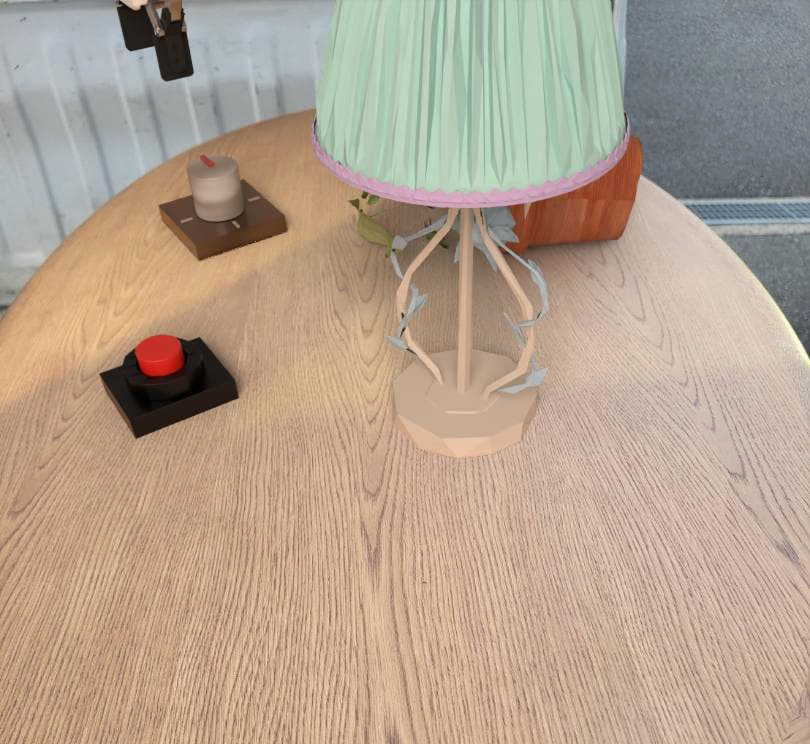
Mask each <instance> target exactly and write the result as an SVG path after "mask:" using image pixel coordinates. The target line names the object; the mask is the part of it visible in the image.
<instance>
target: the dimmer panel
mask: <svg viewBox="0 0 810 744" xmlns="http://www.w3.org/2000/svg"><path fill="white" fill-rule="evenodd" d="M240 181H241V187H242V192H243V198H244V204H245V209H244V211H243V213H242V214H240V215H239V216H237V217H235V218H233V219H230V220H226V221H219V222H213V221H206V220H203V219H201V218H199V217H198V216H197V214H196V210H195V206H194V201H193V197H192V194H190V195H186V196H183V197H180V198H177V199H174V200H170V201H167V202H164V203H161V204H158V209H159V213H160V217H161V221H162V222H163V223H164V225H166V226H167V228H168V229H169V230H170V231H171V232H172V233H173V234H174V235H175V236H176V238H177V239H178V240H179V241H180V242H181V243H182V244H183V245H184V246H185V247H186V249H187V250H188V251H189V252H190V253H191V254H192V255H193V256H194V258H195V259H196V260H198V261H199V260H201V261H204V260H206V259H205V258H207V259H209V258H208V257H210V258H212V257H211V256H213V257H215V256H214V255H216V256H218V255H217V254H219V255H221V254H220V253H222V254H224V253H223V252H225V253H227V252H226V251H228V252H230V251H229V250H231V251H233V250H232V249H234V250H236V249H235V248H237V249H239V248H238V247H240V248H242V247H241V246H243V247H245V246H244V245H246V244H249V243H252V242H255V241H258V240H261V239H264V238H267V237H270V236H273V237H275V236H274V235H276V234H279V233H282V234H284V233H283V232H285V233H287V232H288V228H287V221H286V215H285V214H284V213H283V212H281V210H279V208H277V207H276V206H275V205H274V204H273V203H271V202H270V201H269V200H268V199H267V198H266V197H264V195H262V194H261V193H260V192H259V191H258V190H257V189H256V188H254V187H253V186H252V185H251V184H250V183H249V182H248V181H247V180H246V179H244V178H243V179H240ZM286 231H287V232H286ZM279 235H280V234H279ZM276 236H277V235H276ZM270 238H271V237H270ZM267 239H268V238H267ZM264 240H265V239H264ZM261 241H262V240H261ZM258 242H259V241H258ZM255 243H256V242H255ZM252 244H253V243H252ZM249 245H250V244H249ZM246 246H247V245H246ZM203 259H204V260H203Z"/></svg>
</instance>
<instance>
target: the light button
mask: <svg viewBox="0 0 810 744" xmlns="http://www.w3.org/2000/svg"><path fill="white" fill-rule="evenodd" d="M176 337H177V336H174V335H170V334H155V335H152V336H149V337H146V338H144V339H143V340H141V341H140V342H139V343H138V344H137V345H136V346H135V347H136V350H135V354H136V357H137V360H138V363H139V366H140V369H141V371H142V372H143V373H144V374H146V375H148V376H165V375H168V374H171V373H173V372H176V371H178V370H179V369H180V368H181V367H183V365H184V362H185V358H184V354H183V350H182V346H181V343H180V341H179V340H178V339H177V338H176Z"/></svg>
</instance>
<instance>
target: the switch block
mask: <svg viewBox="0 0 810 744" xmlns="http://www.w3.org/2000/svg"><path fill="white" fill-rule="evenodd" d="M175 337H176V338H177V339H178V340H179V341H180V343H181V346H182V350H183V354H184V358H185V362H184V365H183V367H181V368H180V369H179V370H178V371H176V372H173V373H171V374H168V375H165V376H148V375H146V374H144V373H143V372H142V371H141V369H140V366H139V363H138V360H137V357H136V354H135V350H136V347H137V346H135V347H134V348H132V349H131V350H130V351H129V352H127V354H126V355H124V357H123V358H124V359H123V362H122V364H121V365H119V366H116V367H113V368H111V369H108V370H105V371H102V372H100V373H99V378H100V381H101V383H102V385H103V389H104V391H105V393H106V395H107V397H108V398H109V399H110V402H112V404H113V406H114V408H116V411H117V412H118V414H119V415H120V417H121V418H122V420H123V421H124V424H125V425H126V426H127V428H128V429H129V431H130V432H131V434H132V436H133V437H134V438H135V440H137V439H140V438H143V437H144V436H147V435H150V434H153V433H155V432H158V431H160V430H162V429H165V428H167V427H170V426H173V425H175V424H177V423H178V424H179V423H180V422H182V421H185V420H187V419H190V418H193V417H195V416H197V415H200V414H203V413H206V412H207V411H211V410H213V409H216V408H217V407H220V406H223V405H225V404H229V403H231V402H233V401H236V400H238V399H240V397H239V392H238V388H237V387H238V386H237V383H236V378H234V376H233V375H232V374H231V373H230V372H229V371H228V369H227V368H226V367H225V366H224V364H223V363H222V362H221V361H220V360H219V358H218V357H217V356H216V355H215V353H214V352H213V351H212V350H211V348H210V347H209V346H208V345H207V344H206V343H205V341H204V340H203V339H202V338H201V336H198V337H195V338H193V339H190V340H188V339H184V338H181V337H177V336H175Z"/></svg>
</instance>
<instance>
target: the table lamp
mask: <svg viewBox="0 0 810 744" xmlns="http://www.w3.org/2000/svg"><path fill="white" fill-rule="evenodd" d="M330 21H331V22H330V26H329V32H328V36H327V40H326V41H327V42H326V46H325V53H324V56H323V61H322V66H321V71H320V76H319V81H318V86H317V91H316V97H315V114H314V118H313V122H312V125H311V130H310V132H311V133H310V136H311V137H310V138H311V142H310V143H311V146H312V149H313V152H314V155H315V156H316V159H317V160H318V161H319V163H320V164H321V165H322V166H323V167H324V169H326V170H327V171H328V172H329V173H330V174H331V175H333V176H334V177H336V178H337V179H339V180H340V181H342V182H343V183H345V184H347V185H349V186H351V187H353V188H355V189H357V190H359V191H362V192H363V191H365V192H368V194H370V195H371V194H373V195H377V196H380V198H385V199H389V200H392V201H396V202H400V203H405V204H408V203H410V204H411V205H419V206H425V205H426V206H425V207H427V206H431V207H433V208H448V211H447V214H448V215H447V214H444V215H442V216H439V217H437V218H434V219H431V225H430V224H429V225H427V226H428V227H426V228H425V227H424V228H423V229H421V230H419V231H418V232H416V233H415V234H412V235H410V236H407V237H404V238H403V236H401V235H399V234H398V235H395V236H394V241H393V243H392V248H391V255H390V257H389V258H390V260H391V262H392V265H393V268H394V271H395V273H396V275H397V276H398V277H399V278H400V279H401V282H400V285H399V287H398V288H397V291H396V317H397V319H398V322H399V325H398V327H397V331H396V335H395V337H394V336H391V335H386V334H385V338H386V340H387V342H388V343H389V344H391V345H392V346H394V347H395V348H397V349H398V350H400V351H403V352H406V353H409V354H410V355H412V356H414V357H416V359H415V360H414V361H413V362H412V363H411V364H410V365H409V366H407V368H405V369H404V370H403V371H402V372H401V373H400V374H399V375H398V376H397V377H396V378H395V379H394V380H393V381H392V425H393V426H394V428H396V429H397V430H398V431H399V432H400V433H401V434H402V435H404V436H405V437H406V438H407V439H408V440H409V441H410V442H411V443H412V444H414V445H415V446H416V447H417V448H418V449H419V450H421V451H427V452H430V453H433V454H437V455H442V456H445V457H449V458H453V459H456V460H457V459H458V460H459V459H460V460H461V459H467V458H468V459H469V458H474V457H475V458H477V457H484V456H490V455H495V454H496V453H499V452H501V451H503V450H505V449H507V448H509V447H511V446H513V445H516V444H517V443H519V442H522V440H523V437H524V435H525V433H527V430H528V428H529V427H530V424H531V423H532V421H533V418H534V416H535V415H536V410H537V401H538V392H537V389H536V387H537V386H538V387H539V386H540V385H541V384H542V383H543V381H544V379H545V378H546V377H547V374H548V372H549V369H550V366H547V367H544V368H540V369H538V368H539V366H538V364H537V362H536V360H535V358H534V356H533V350H534V348H535V344H536V340H537V337H538V336H537V330H536V324H537V323H538V322H539V321H540V320H542V319H543V318H544V316H545V315H546V314H547V313H548V312H549V309H550V308H549V300H548V293H547V289H548V286H547V283H546V280H545V277H544V274H543V272H542V270H541V268H540V266H539V265H537V263H536V262H535V261H533V260H532V259H530V258H527V260H528V262H527V261H526V260H524V259H523V258H521V256H520V255H518V254H517V253H514V252H512V251H511V250H510V249H508V248H507V247H506V246H505V244H506V242H507V241H509V242H518V243H519V239H518V237H517V236H516V235H515V234H514V233H513V231H512V230H513V228H514V226H515V224H516V222H515V220H514V218H513V216H512V214H511V212H510V210H509V208H508V205H515V204H522V203H524V214H525V218H526V215H527V213H528V210H529V207H530V205H531V202H535V201H538V200H543V199H547V198H550V197H554V196H557V195H561V194H564V193H567V192H570V191H573V190H575V189H578V188H580V187H582V186H585V185H587V184H589V183H590V182H592V181H594V180H596V179H598V178H600V177H601V176H602V175H604V174H606V173H607V172H608V171H609V170H610V169H612V168H613V167H614V166H615V165H616V164H617V163H618V162H619V160H620V159H621V158H622V157H623V156H624V153H625V151H626V149H627V146H628V142H629V138H630V136H631V131H632V130H631V129H632V128H631V125H630V119H629V115H628V113H627V112H626V109H625V106H624V89H623V70H622V60H621V55H620V50H619V45H618V40H617V35H616V29H615V23H614V15H613V9H612V3H611V0H335V3H334V7H333V13H332V17H331V20H330ZM459 209H461V212H460V215H459V216H457V217H456V215H457V213H458V211H459ZM451 229H452V230H455V231H457V233H458V234H459V242H458V243H457V245H456V247H455V254H454V259H453V263H457V262H458V261H459V263H458V265H459V266H458V268H459V269H458V313H457V314H458V315H457V317H458V318H457V349H451V350H446V351H440V352H433V353H428V354H427V353H426V352H425V350H424V349H423V348H422V346H421V345H420V344H419V343H418V342H417V340H416V339H415V338H414V335H413V332H412V328H411V326H410V323H409V321H410V319H411V317H412V315H413V313H414V312H415V313H417V312H418V311H420V310H421V309H422V307H423V306H424V305H425V303H426V301H427V298H428V296H429V292H426V293H424V294H421V295H419V288H418V287H417V286H416V285H414V284H413V283H412V282H411V277H412V274H413V273H414V272H415V271H416V270H417V269H418V268H419V266H420V265H421V264H422V263H423V262H424V261H425V259H426V258H427V257H428V256H429V254H430V253H432V251H433V250H434V249H435V248H436V246H437V245H439V244H438V243H439V242H440V240H443V239H444V237H446V235H447V234H448V232H450V230H451ZM434 230H435V231H436V232H437V233H436V234H435V235H434V236H433V237H432V239H431V240H428V242H427V243H426V244H425V245H424V246H423V248H422V249H421V250H420V251H419V253H417V255H416V256H415V257H414V258H413V259H412V261H411V262H410V264H409V266H408V268H407V270H406V272H405V274H404V275H403V274H402V271H401V267H400V265H399V262H398V259H397V256H396V255H395V251H396V250H397V249H401V250H403V249H404V248H405V249H406V246H408V242H409V241H412V240H414V239H417V238H419V237H422V236H424V235H425V236H426V234H427V233H429V232H432V231H434ZM498 246H500V247H503V248H504V249H505V250H506V251H508V252H509V253H508V254H510V255H511V256H513V257H514V258H515V259H516V260H517V261H519V262H520V263H521V264H522V265H523V266H525V267H526V268H527V269H528V270H529V272H530V275H531V278H532V281H533V282H534V283H535V284H536V285H537V286H538V289H539V292H540V295H541V299H542V303H543V307H542V309H541V310H540V311H539V313H538V314H537V316H536V317H535V316H534V315H535V314H534V309H533V308H534V307H533V305H532V303H531V302H530V300H529V299H528V296H527V295H526V293H525V291H524V290H523V288H522V287H521V285H520V283H519V281H518V280H517V278H516V275H515V274H514V272H513V271H512V269H511V267H510V265H509V264H508V262H507V261H506V258H505V257H504V255H503V253H501V252H500V250H499V248H498ZM474 247H475V248H476V249H478V250H480V251H481V252H483V254H484V255H485V257H486V259H487V261H488V262H489V264H490V265H491V268H492V269H493V271H494V273H495V274H498V269H499V270H500V272H501V274H502V275H503V277H504V279H505V281H506V282H507V284H508V286H509V288H510V289H511V291H512V292H513V294H514V296H515V297H516V299H517V301H518V303H519V306H520V310H521V314H522V319H523V322H519V323H517V324H516V326H515V324H514V323H513V322H512V320H511V319H510V318H509V316H508V315H507V313H506V312H505V311H503V314H504V316H505V319H506V321H507V324H508V325H509V327H510V329H511V331H512V333H513V335H514V337H515V339H516V340H517V342H521V343H522V346H523V348H524V349H523V352H522V354H521V357H520V359H519V362H518V363H516V362H515V361H514V360H512V359H511V358H510V357H508V356H506V355H502V354H496V353H493V352H488V351H485V350H479V349H475V348H472V320H473V319H472V318H473V280H474V279H473V278H474V276H473V275H474ZM405 249H404V250H405ZM409 288H410V289H411V291H412V292H411V293H412V297H411V300H410V304H409V306H408V308H407V310H405V303H406V299H407V295H408V290H409ZM418 295H419V296H418ZM522 328H525V332H526V335H527V336H526V339H525V337H524V335H523V331H522ZM403 335H404V338H405V340H406V342H407V345H408V346H406V344H405V342H404V340H402V339H403ZM519 339H520V340H519ZM409 347H410V348H409ZM530 363H531V365H532V369H531V372H530V373H529V372H528V371H527V370H528V367H529V364H530Z"/></svg>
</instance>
